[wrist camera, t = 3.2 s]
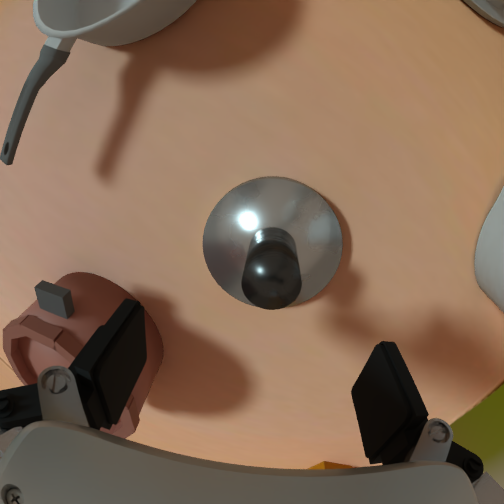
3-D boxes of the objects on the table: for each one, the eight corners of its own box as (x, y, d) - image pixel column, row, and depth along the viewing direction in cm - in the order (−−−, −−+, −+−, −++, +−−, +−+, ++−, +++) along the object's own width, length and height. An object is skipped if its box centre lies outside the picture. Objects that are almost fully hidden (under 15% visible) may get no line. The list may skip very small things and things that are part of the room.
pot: (162, 271, 20) (112, 342, 13) (166, 400, 27) (145, 460, 20) (39, 241, 20) (-22, 283, 13) (70, 366, 27) (39, 413, 20)
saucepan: (17, 125, 16) (-29, 133, 11) (136, -68, 9) (107, -97, 4) (100, 183, 18) (52, 203, 13) (253, -44, 11) (246, -88, 6)
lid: (353, 192, 17) (383, 217, 12) (318, 307, 21) (328, 359, 16) (215, 164, 17) (191, 179, 12) (201, 286, 21) (180, 334, 16)
